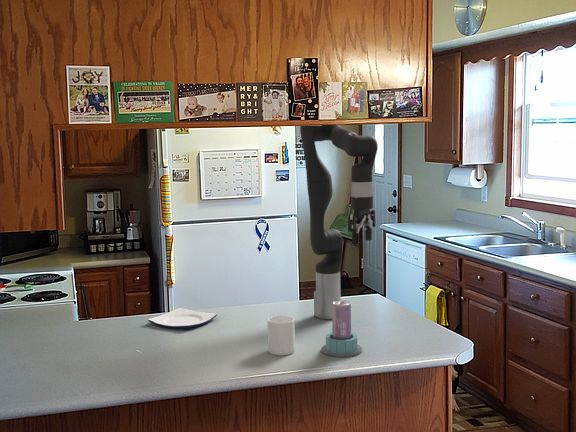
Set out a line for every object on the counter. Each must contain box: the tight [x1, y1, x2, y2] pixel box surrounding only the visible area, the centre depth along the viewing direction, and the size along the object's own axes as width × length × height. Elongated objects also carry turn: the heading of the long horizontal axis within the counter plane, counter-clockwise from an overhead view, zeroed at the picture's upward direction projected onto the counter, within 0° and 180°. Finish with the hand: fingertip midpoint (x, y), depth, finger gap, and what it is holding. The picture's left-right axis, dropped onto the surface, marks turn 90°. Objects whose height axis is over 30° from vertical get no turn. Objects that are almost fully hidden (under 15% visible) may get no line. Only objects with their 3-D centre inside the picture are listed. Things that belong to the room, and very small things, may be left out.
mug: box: [266, 315, 296, 356], centre depth 231 cm, size 9×12×11 cm
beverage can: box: [331, 300, 352, 340], centre depth 229 cm, size 6×6×15 cm
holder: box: [321, 332, 363, 359], centre depth 230 cm, size 13×13×5 cm
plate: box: [147, 307, 218, 330], centre depth 266 cm, size 20×20×3 cm
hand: (362, 242), depth 244 cm, fingers open, 8 cm apart
